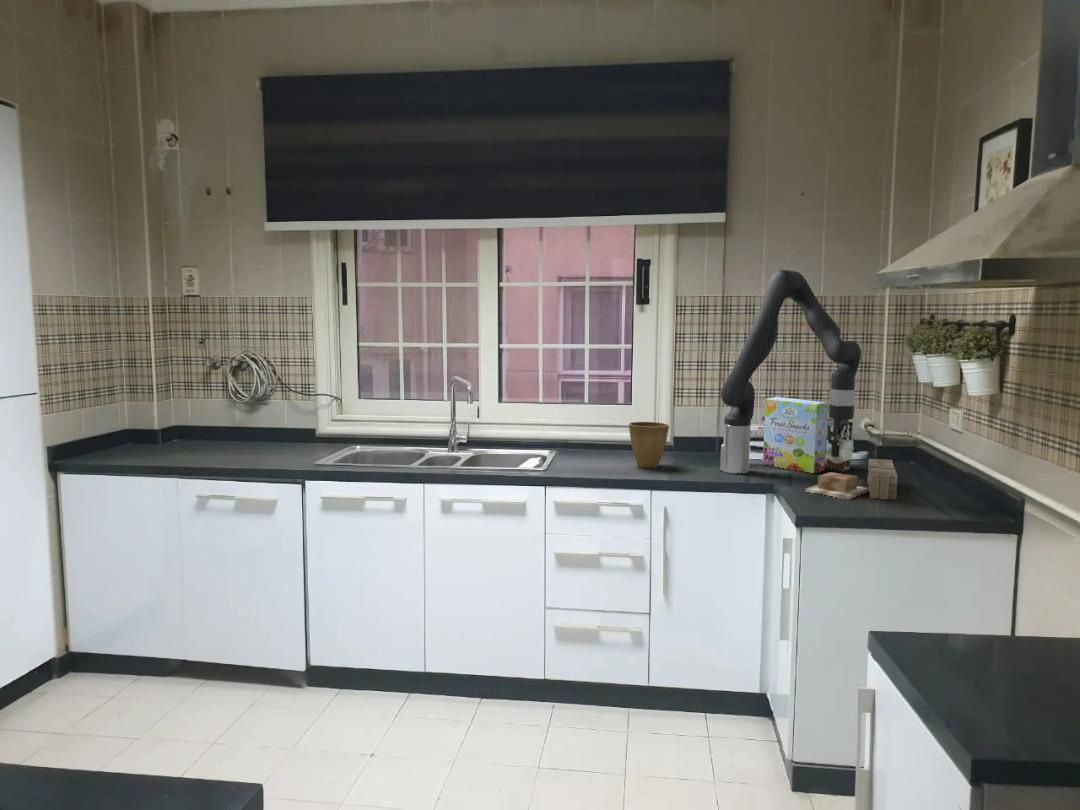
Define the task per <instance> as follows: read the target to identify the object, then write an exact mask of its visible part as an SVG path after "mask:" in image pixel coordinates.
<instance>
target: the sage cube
mask: <svg viewBox="0 0 1080 810" xmlns="http://www.w3.org/2000/svg"><path fill="white" fill-rule="evenodd" d="M826 440H827V450H826V452H825V460H826V459H832V460H839V461H847V460H850V459H851V460H852V459H853V451H854V450H853V445H854V440H853V439H851V440H846V439H841V440H840V444H839V457H832V456H831V450H832V445H831V444H830V443H828V439H826ZM837 440H838V439H837Z"/></svg>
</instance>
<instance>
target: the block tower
mask: <svg viewBox="0 0 1080 810" xmlns="http://www.w3.org/2000/svg"><path fill="white" fill-rule="evenodd" d="M867 470H868V471H867V484H868V488H869V491H868V492H869V498H870V499H875V498H879V500H886V499H888V500H897V495H898V494H897V493H898V492H897V491H898V489H897V488H898V474H897V470H896V468H895V465H894V463H893V459H878V458H877V459H876V458H875V459H873V458H869V459H868V469H867Z"/></svg>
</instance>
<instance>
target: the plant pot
mask: <svg viewBox="0 0 1080 810" xmlns="http://www.w3.org/2000/svg"><path fill="white" fill-rule="evenodd" d="M669 428H670V425H669V423H664V422H656V421H633V422H628V429H629V437H630V438H629V439H630V442H631V448H632V452H633V457H634V459H635V462H636V466H637V467H639V468H643V469H655V468H657V467H658V466H659V464H660V463H661V458H662V456H663V453H664V450H665V447H666V443H667V438H668V436H669V435H668V434H669Z"/></svg>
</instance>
